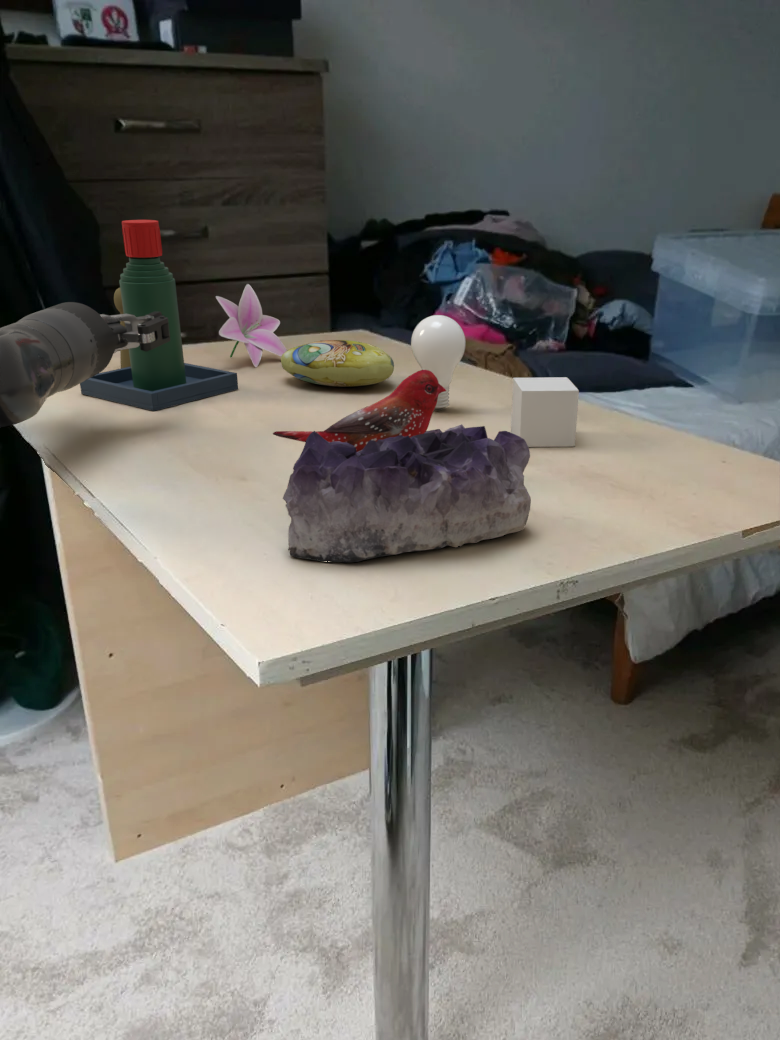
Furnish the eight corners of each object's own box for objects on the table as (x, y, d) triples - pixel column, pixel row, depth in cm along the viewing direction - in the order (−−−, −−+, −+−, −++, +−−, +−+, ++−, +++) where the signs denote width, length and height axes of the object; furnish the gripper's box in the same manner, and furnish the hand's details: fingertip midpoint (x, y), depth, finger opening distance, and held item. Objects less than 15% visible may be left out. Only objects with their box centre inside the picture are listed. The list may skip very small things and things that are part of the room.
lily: (208, 378, 130) (232, 318, 125) (186, 331, 137) (208, 272, 132) (285, 394, 138) (311, 338, 133) (260, 348, 144) (284, 294, 139)
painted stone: (376, 379, 116) (271, 325, 117) (362, 429, 121) (263, 377, 123) (413, 345, 123) (315, 295, 125) (399, 393, 129) (305, 345, 130)
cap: (141, 258, 109) (137, 223, 107) (118, 255, 111) (113, 221, 109) (169, 255, 112) (165, 221, 110) (146, 252, 114) (142, 219, 112)
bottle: (156, 396, 114) (135, 229, 106) (123, 388, 118) (100, 225, 109) (197, 386, 119) (180, 225, 111) (163, 379, 122) (144, 222, 114)
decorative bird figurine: (453, 473, 92) (454, 369, 87) (283, 505, 83) (276, 392, 79) (437, 465, 94) (438, 364, 89) (271, 495, 85) (262, 385, 81)
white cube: (563, 430, 105) (567, 377, 103) (574, 446, 100) (579, 390, 97) (510, 431, 105) (512, 377, 102) (519, 447, 99) (522, 390, 97)
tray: (153, 411, 111) (151, 393, 110) (81, 394, 117) (78, 377, 116) (238, 389, 121) (237, 372, 120) (167, 374, 127) (165, 359, 127)
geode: (322, 591, 67) (302, 453, 64) (271, 554, 77) (252, 433, 74) (557, 532, 76) (551, 408, 73) (484, 506, 86) (476, 395, 82)
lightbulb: (472, 406, 114) (474, 313, 109) (450, 419, 109) (452, 321, 104) (425, 400, 117) (425, 309, 112) (402, 412, 111) (401, 317, 106)
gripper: (124, 310, 90) (180, 286, 105) (-19, 306, 91) (56, 283, 106) (134, 388, 94) (187, 355, 108) (-4, 384, 94) (67, 351, 109)
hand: (122, 319), depth 107 cm, fingers open, 8 cm apart
